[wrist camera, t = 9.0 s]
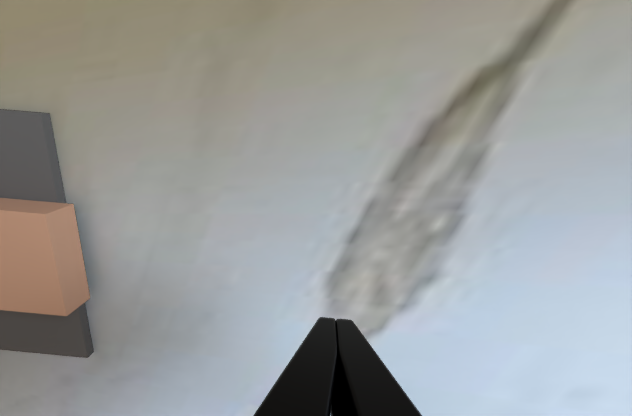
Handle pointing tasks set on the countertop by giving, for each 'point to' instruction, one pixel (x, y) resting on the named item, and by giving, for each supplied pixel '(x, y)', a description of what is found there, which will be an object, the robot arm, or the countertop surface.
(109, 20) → the countertop surface
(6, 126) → the mat
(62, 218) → the tile
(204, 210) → the countertop surface
